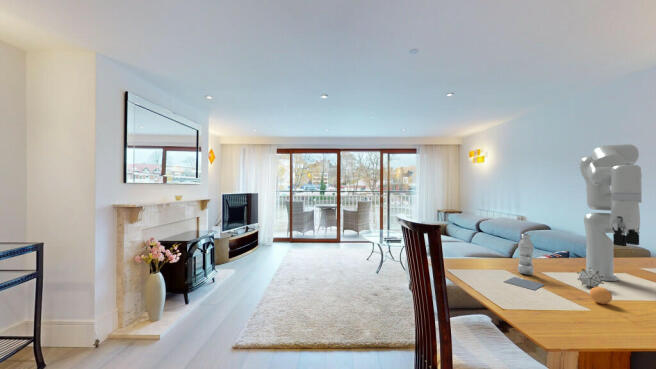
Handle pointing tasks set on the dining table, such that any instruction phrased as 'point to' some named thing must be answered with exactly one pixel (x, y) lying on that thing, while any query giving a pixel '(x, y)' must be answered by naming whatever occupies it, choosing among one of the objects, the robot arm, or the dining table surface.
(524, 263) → the plastic bottle
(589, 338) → the dining table surface
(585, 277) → the grey spiky ball
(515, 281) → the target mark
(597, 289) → the ball
